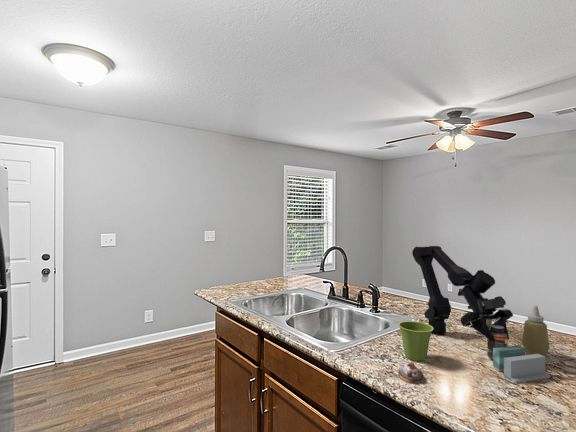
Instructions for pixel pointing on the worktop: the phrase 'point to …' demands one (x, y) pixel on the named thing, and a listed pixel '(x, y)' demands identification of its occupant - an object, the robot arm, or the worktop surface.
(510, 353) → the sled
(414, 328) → the plant pot
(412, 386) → the worktop surface
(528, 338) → the squeeze bottle
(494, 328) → the supplement bottle
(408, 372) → the pastry
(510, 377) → the backstop wall
